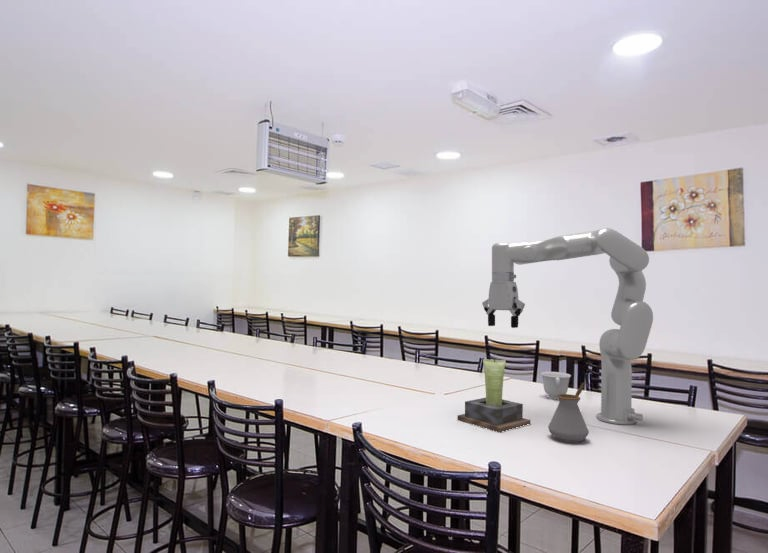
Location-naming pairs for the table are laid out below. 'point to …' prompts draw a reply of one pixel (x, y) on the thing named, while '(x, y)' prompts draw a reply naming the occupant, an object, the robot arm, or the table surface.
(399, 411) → the table surface
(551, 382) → the teacup
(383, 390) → the table surface
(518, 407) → the socket board
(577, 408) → the coffee pot
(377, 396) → the table surface
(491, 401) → the tube
